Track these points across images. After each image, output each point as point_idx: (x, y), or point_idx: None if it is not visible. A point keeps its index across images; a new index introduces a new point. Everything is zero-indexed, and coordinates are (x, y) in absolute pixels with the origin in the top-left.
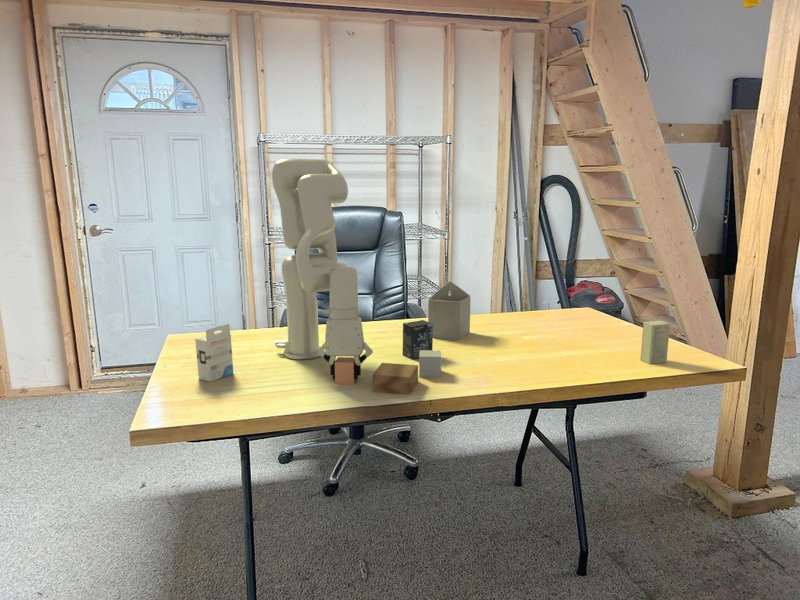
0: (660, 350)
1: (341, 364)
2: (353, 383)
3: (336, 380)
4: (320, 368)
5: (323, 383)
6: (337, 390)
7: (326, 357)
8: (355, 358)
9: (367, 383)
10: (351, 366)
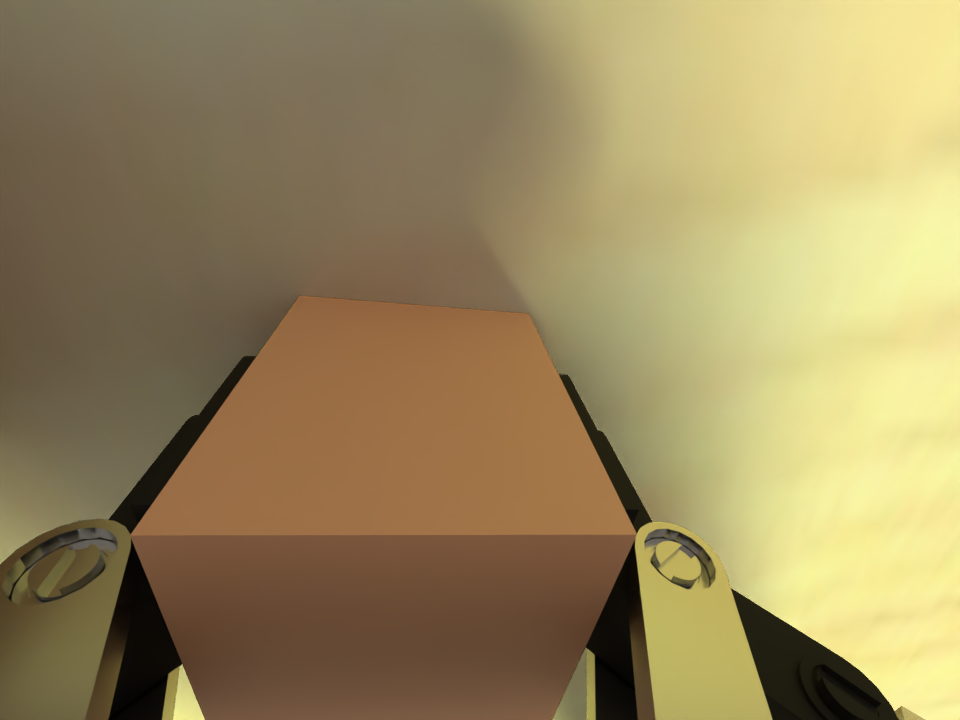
0: None
1: (467, 499)
2: (300, 300)
3: (520, 332)
4: None
5: (657, 328)
6: (499, 35)
7: (827, 689)
8: (41, 711)
9: (115, 309)
10: (229, 458)
